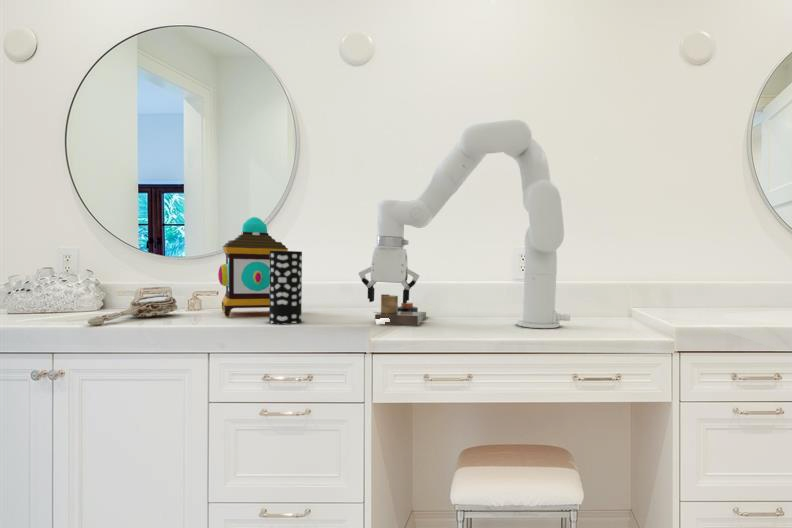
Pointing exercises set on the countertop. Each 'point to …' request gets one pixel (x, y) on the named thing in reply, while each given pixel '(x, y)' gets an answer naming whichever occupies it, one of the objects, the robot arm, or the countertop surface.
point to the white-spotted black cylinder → (285, 287)
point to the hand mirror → (141, 308)
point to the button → (407, 305)
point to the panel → (402, 318)
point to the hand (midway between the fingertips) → (388, 302)
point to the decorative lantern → (248, 267)
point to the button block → (411, 310)
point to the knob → (389, 304)
